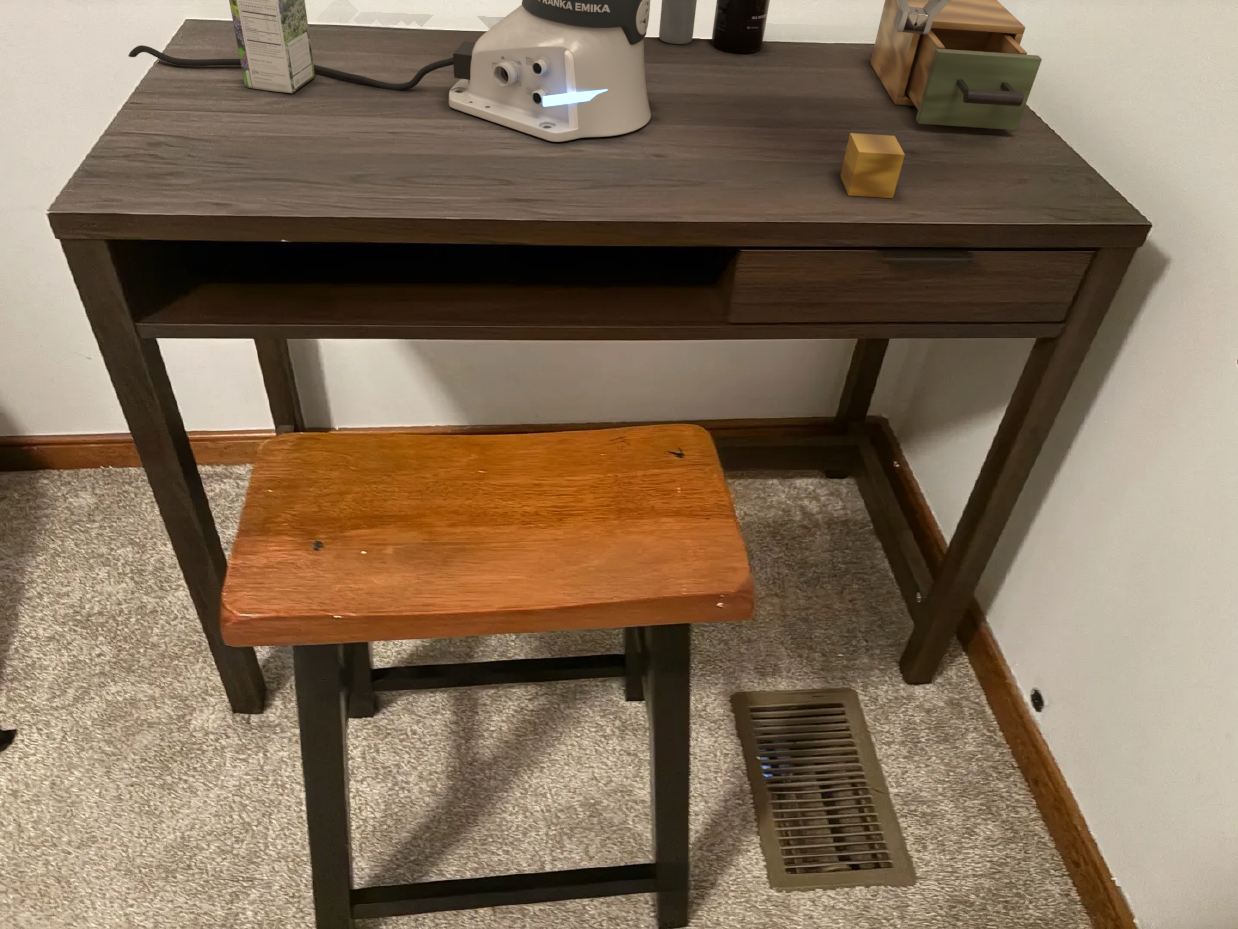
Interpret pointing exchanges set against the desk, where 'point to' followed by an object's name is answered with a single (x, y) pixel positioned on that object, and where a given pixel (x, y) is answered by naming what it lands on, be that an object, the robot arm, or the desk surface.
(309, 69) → the syrup box
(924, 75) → the drawer
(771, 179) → the desk surface
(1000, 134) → the desk surface
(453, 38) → the desk surface
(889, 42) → the cabinet
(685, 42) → the planter
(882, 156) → the block
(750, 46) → the supplement bottle
